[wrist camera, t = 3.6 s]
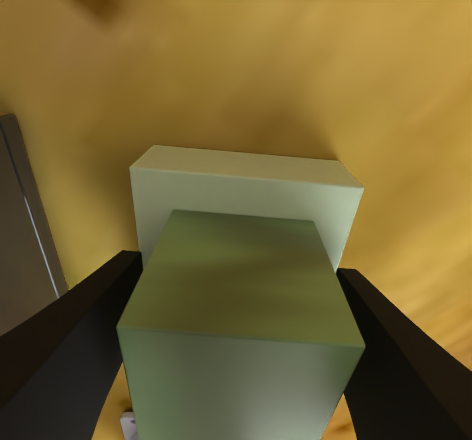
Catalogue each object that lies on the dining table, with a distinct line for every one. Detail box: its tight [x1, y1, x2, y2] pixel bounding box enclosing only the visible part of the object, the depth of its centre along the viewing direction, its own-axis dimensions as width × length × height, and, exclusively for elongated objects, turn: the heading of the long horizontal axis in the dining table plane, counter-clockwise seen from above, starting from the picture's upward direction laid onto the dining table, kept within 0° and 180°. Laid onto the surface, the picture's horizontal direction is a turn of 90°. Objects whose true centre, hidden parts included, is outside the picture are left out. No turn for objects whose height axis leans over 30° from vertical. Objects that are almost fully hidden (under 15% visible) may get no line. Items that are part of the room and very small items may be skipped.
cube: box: [116, 209, 365, 440], centre depth 8 cm, size 4×4×4 cm
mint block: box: [129, 145, 364, 273], centre depth 11 cm, size 7×7×2 cm
